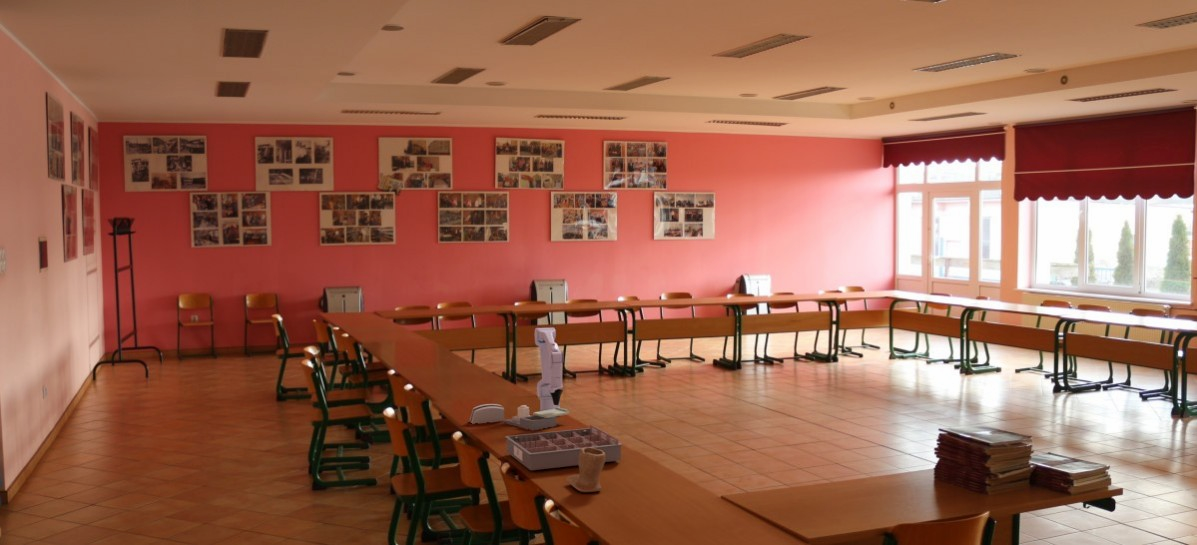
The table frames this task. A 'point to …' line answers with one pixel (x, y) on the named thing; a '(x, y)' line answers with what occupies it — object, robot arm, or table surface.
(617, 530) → the table surface
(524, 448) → the organizer tray
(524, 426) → the housing
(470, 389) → the table surface
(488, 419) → the white speaker
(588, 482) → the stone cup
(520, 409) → the cube with dome top
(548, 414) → the lid
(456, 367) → the table surface
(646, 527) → the table surface
